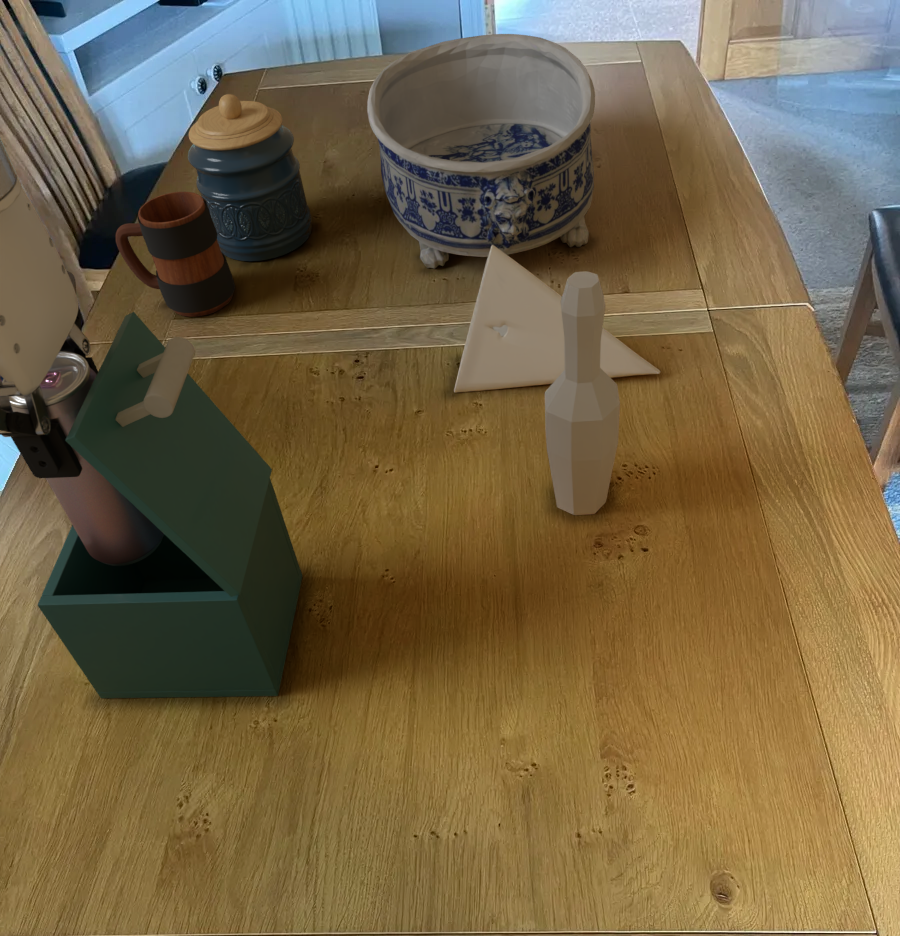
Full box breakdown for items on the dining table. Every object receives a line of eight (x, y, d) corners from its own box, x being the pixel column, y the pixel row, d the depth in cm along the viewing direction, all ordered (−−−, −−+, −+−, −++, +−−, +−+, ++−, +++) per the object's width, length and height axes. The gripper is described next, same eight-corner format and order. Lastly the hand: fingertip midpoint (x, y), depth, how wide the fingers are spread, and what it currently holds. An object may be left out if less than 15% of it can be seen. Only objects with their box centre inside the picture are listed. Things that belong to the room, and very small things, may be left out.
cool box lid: (64, 440, 55) (128, 411, 53) (124, 315, 63) (182, 286, 61) (231, 597, 65) (289, 577, 63) (264, 472, 73) (316, 451, 71)
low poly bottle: (606, 528, 82) (615, 308, 66) (537, 515, 84) (528, 298, 68) (623, 480, 86) (635, 261, 69) (556, 469, 88) (553, 252, 71)
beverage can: (102, 514, 73) (15, 351, 61) (176, 510, 72) (102, 346, 61) (80, 571, 69) (-18, 409, 58) (158, 568, 68) (75, 403, 57)
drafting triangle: (679, 287, 96) (493, 235, 94) (688, 300, 90) (491, 245, 89) (629, 422, 103) (456, 376, 102) (635, 442, 98) (453, 393, 97)
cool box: (100, 698, 76) (36, 605, 67) (142, 580, 84) (90, 482, 75) (278, 696, 74) (237, 600, 65) (302, 575, 82) (269, 475, 73)
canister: (288, 268, 117) (251, 122, 103) (198, 259, 120) (151, 117, 107) (329, 215, 124) (300, 73, 111) (243, 209, 128) (205, 70, 114)
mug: (148, 285, 117) (113, 194, 108) (242, 277, 116) (214, 185, 107) (133, 324, 112) (95, 232, 103) (231, 316, 111) (201, 222, 102)
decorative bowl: (634, 277, 108) (641, 145, 96) (407, 318, 107) (387, 190, 95) (550, 125, 135) (548, 8, 124) (369, 156, 134) (350, 42, 123)
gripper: (-62, 113, 55) (63, 366, 69) (-209, 270, 44) (-25, 534, 58) (58, 102, 55) (161, 360, 68) (-61, 259, 44) (90, 530, 57)
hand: (74, 438), depth 63 cm, fingers closed on beverage can, 6 cm apart
